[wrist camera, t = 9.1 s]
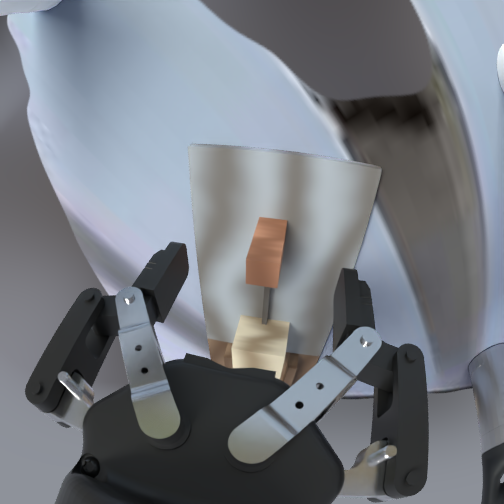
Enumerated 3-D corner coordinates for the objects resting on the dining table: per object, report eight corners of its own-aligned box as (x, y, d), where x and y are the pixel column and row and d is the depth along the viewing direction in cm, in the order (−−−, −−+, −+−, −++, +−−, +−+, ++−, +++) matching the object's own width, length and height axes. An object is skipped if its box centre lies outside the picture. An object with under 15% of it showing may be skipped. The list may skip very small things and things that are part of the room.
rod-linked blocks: (307, 222, 25) (304, 267, 20) (284, 348, 37) (278, 386, 33) (240, 214, 26) (222, 256, 21) (241, 341, 38) (231, 378, 34)
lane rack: (379, 166, 21) (389, 182, 19) (304, 386, 45) (302, 402, 43) (191, 143, 23) (175, 156, 21) (214, 371, 47) (209, 387, 45)
